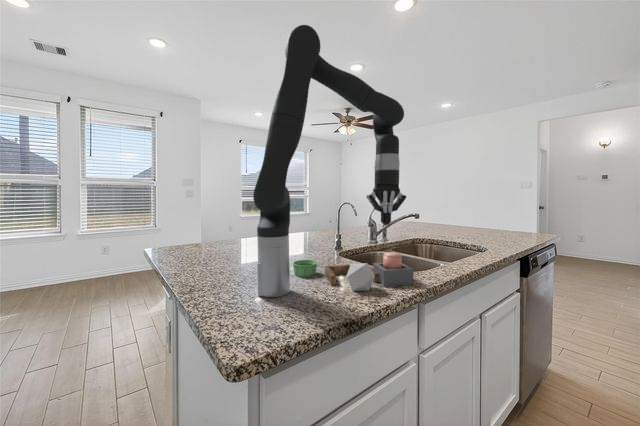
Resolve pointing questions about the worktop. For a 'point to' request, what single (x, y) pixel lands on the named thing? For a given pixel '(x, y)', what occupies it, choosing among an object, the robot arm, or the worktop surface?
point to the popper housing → (394, 275)
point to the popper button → (392, 260)
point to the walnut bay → (343, 269)
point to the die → (360, 277)
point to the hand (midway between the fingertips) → (385, 224)
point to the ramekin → (304, 268)
